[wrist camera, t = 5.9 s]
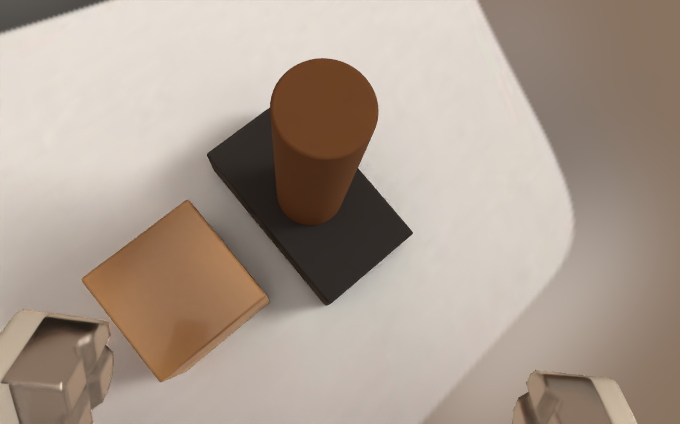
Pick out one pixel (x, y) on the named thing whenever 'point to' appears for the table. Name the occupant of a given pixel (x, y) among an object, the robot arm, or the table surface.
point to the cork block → (175, 292)
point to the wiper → (314, 176)
